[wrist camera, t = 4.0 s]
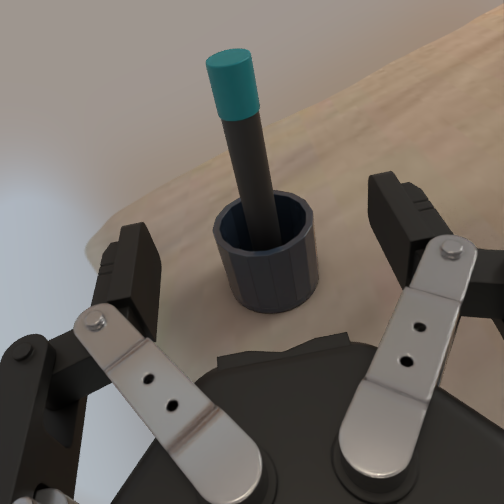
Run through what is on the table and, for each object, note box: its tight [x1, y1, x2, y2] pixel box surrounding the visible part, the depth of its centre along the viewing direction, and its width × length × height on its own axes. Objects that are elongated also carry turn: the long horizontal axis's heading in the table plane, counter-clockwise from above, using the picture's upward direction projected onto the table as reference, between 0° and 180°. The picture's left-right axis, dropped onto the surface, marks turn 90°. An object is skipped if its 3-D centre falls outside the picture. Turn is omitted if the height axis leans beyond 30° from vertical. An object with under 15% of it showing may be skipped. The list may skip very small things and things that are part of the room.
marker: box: [206, 49, 282, 251], centre depth 27 cm, size 2×2×16 cm
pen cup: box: [213, 190, 319, 313], centre depth 31 cm, size 7×7×6 cm
